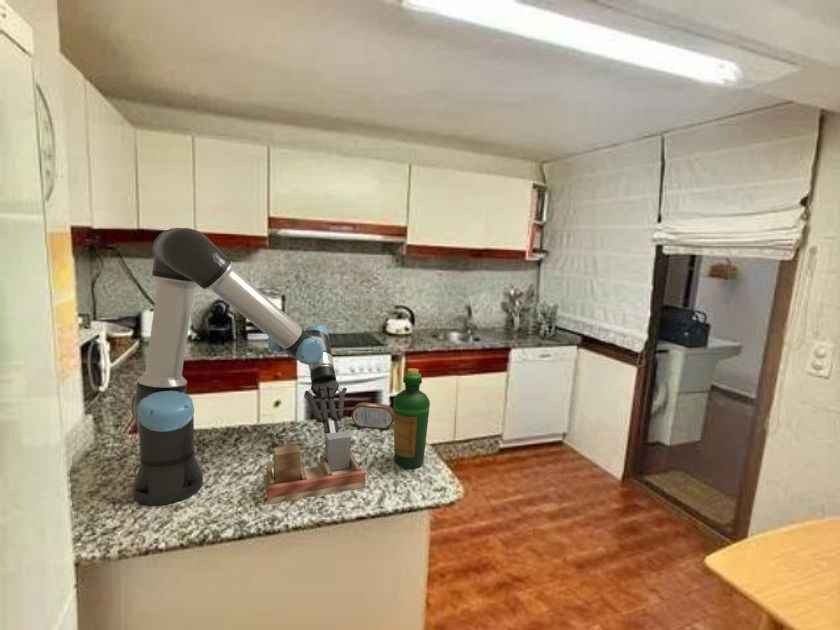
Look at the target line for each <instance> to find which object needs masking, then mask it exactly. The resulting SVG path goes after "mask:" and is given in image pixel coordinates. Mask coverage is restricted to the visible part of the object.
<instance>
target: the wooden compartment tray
mask: <svg viewBox="0 0 840 630" xmlns="http://www.w3.org/2000/svg"><path fill="white" fill-rule="evenodd" d="M265 465H266V467H265V468H266V471H265V472H266V473H265V474H263V485H264V489H265V494H266V500H267V505H272V504H279V503H284V502H290V501H296V500H301V499H307V498H311V497H318V496H323V495H328V494H335V493H340V492H341V493H342V492H345V491H350V490H351V491H352V490H358V489H363V488H366V472H365V470H364V469H362V467H361V466H360V464H359V463H358V461H357V459H356V457H355V456H354V455H353V452H351V451H350V468H347V469H341V470H335V471H331V470H330V467H329V465H328V463H327V461H326V459H325V454H323V455H320V456H319V466H318V465H317V466H313V467H308V468H307V467H306V468H304V466H303V464H302V462H301V469H300V481H293V482H287V483H281V484H275V481H274V471H273V469H272V464H271V462H267V463H266V464H265Z"/></svg>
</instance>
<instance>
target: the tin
mask: <svg viewBox="0 0 840 630" xmlns="http://www.w3.org/2000/svg"><path fill="white" fill-rule="evenodd" d="M351 419H352V422H353V423H354V424H355V425H356V426H357V427H360V428H366V429H367V428H368V429H377V430H378V429H379V430H386V429H389V428H390V427H392V425H394V408H392V406H390V405H388V404H385V403H384V404H383V403H373V402H363V401H362V402H359V403H357V404H356V405H354V407H353V409H352V412H351Z"/></svg>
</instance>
